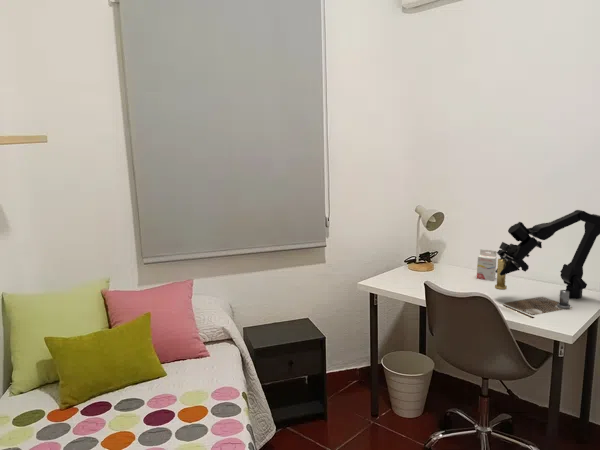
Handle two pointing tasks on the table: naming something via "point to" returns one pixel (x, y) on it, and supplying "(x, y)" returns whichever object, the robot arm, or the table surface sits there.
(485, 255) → the ink cartridge box
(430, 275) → the table surface
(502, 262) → the brass pin
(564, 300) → the fixed pin
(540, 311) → the brown flat sheet
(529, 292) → the table surface
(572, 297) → the robot arm
